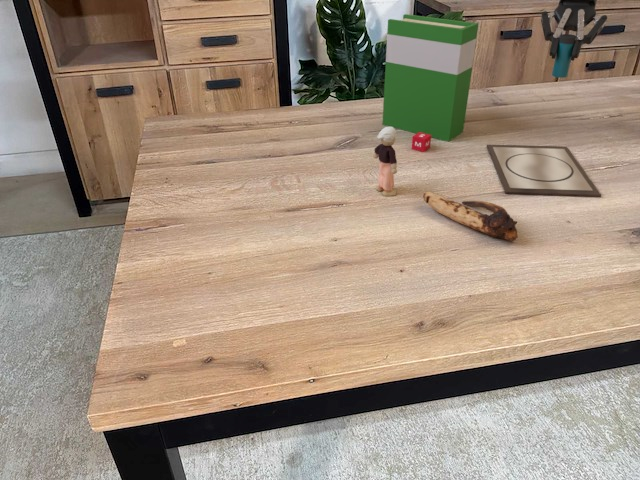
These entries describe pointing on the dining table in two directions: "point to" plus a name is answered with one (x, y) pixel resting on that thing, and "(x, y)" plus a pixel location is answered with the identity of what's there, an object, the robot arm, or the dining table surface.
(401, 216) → the dining table surface
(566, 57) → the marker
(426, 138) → the dice
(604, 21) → the robot arm
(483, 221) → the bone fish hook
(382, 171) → the grandmother figurine
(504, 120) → the dining table surface
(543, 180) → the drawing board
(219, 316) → the dining table surface
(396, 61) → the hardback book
